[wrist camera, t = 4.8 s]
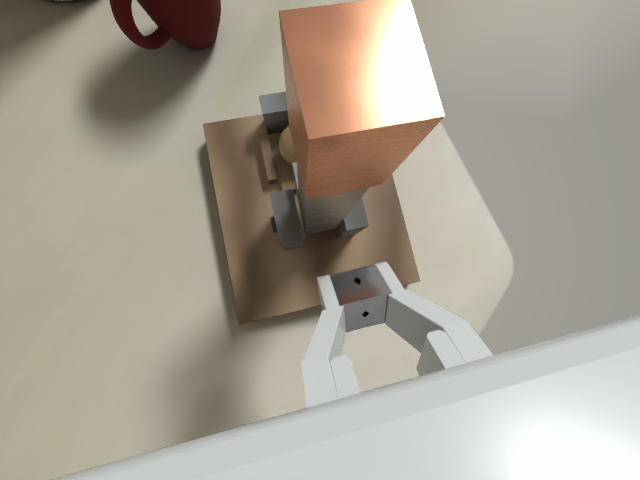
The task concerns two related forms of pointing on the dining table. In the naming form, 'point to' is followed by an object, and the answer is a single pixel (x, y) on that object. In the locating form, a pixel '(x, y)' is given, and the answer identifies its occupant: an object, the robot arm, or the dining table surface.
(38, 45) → the dining table surface
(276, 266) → the bench
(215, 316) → the dining table surface
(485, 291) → the dining table surface
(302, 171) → the lever
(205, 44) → the mug
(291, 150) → the walnut
